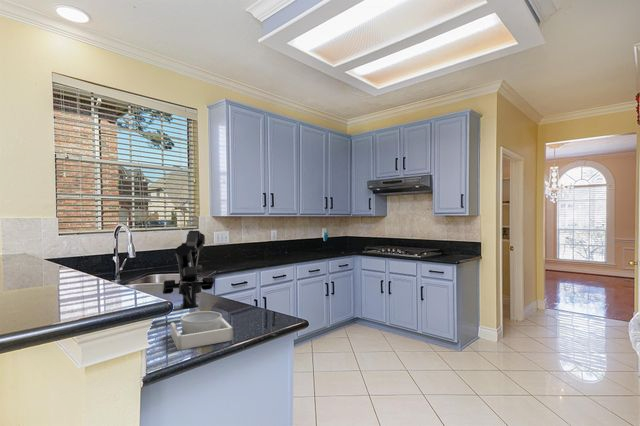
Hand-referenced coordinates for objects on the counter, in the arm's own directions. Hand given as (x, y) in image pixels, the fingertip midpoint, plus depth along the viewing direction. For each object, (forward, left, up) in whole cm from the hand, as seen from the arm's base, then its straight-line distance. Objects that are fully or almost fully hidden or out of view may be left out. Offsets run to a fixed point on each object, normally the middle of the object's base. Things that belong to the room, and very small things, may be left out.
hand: (191, 303), depth 127 cm
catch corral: (+18, 0, -7) cm, 20 cm away
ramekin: (+17, 0, -8) cm, 19 cm away
